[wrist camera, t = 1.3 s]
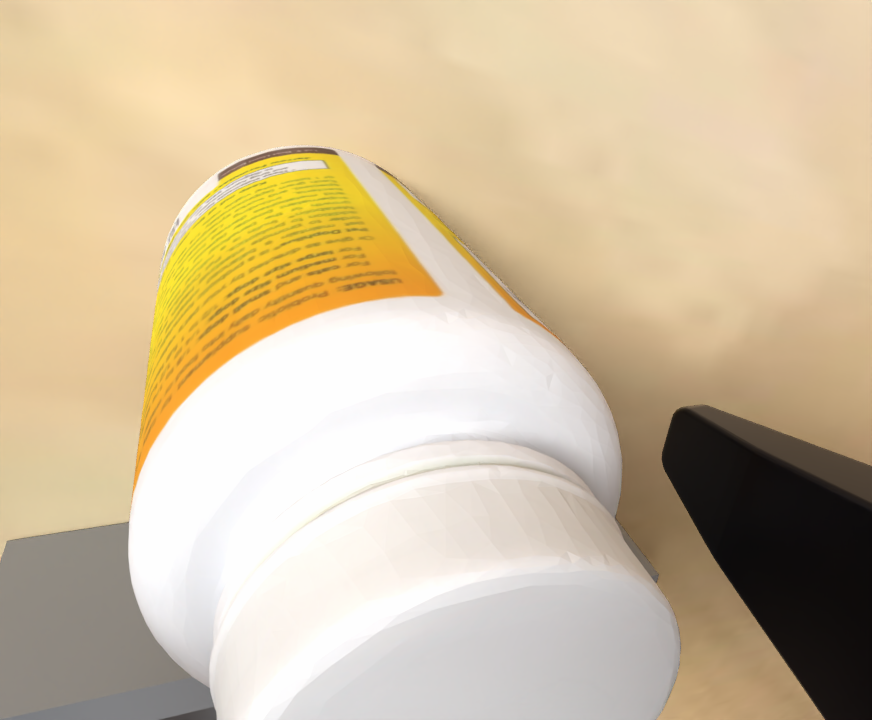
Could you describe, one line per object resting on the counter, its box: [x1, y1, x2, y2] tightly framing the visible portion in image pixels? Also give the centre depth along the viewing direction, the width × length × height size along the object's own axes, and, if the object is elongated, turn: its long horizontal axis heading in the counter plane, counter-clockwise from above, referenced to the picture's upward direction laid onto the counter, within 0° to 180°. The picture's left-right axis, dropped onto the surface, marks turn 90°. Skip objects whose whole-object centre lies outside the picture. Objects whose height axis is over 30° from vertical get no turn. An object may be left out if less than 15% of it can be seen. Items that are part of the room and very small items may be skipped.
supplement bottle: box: [128, 145, 681, 720], centre depth 9 cm, size 6×6×10 cm
